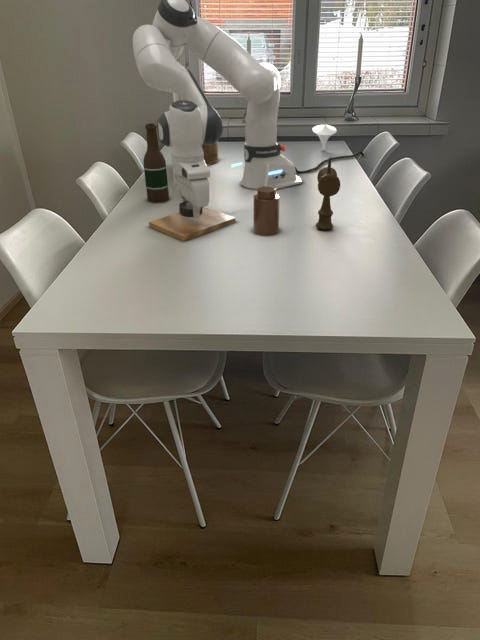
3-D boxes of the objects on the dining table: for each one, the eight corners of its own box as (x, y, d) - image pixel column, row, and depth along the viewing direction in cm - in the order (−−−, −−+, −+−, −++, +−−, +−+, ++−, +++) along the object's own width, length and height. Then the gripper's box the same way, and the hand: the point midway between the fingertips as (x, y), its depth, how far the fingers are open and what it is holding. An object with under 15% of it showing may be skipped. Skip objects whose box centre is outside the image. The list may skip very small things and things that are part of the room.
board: (200, 210, 156) (200, 205, 155) (235, 222, 146) (235, 217, 145) (149, 226, 144) (148, 222, 143) (184, 241, 134) (183, 236, 133)
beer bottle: (165, 203, 162) (158, 126, 149) (143, 202, 163) (134, 126, 151) (172, 196, 168) (166, 122, 156) (151, 195, 170) (143, 121, 157)
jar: (270, 224, 144) (271, 184, 138) (283, 232, 139) (284, 190, 132) (249, 228, 142) (248, 187, 135) (260, 237, 136) (261, 194, 130)
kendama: (314, 234, 137) (319, 161, 127) (313, 222, 146) (317, 152, 135) (335, 234, 137) (342, 161, 126) (333, 222, 145) (339, 153, 135)
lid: (205, 215, 142) (205, 207, 140) (183, 218, 140) (183, 210, 138) (197, 207, 147) (197, 199, 145) (176, 210, 144) (176, 202, 143)
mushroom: (336, 153, 218) (339, 125, 212) (312, 153, 218) (314, 125, 212) (333, 148, 227) (335, 120, 221) (309, 148, 227) (311, 121, 221)
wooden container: (225, 159, 212) (223, 104, 200) (205, 167, 201) (202, 109, 189) (197, 155, 218) (194, 102, 207) (176, 162, 208) (172, 106, 196)
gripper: (166, 158, 143) (170, 204, 150) (190, 175, 127) (193, 226, 134) (186, 155, 145) (189, 201, 152) (212, 172, 129) (214, 222, 137)
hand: (191, 213), depth 143 cm, fingers closed on lid, 6 cm apart
